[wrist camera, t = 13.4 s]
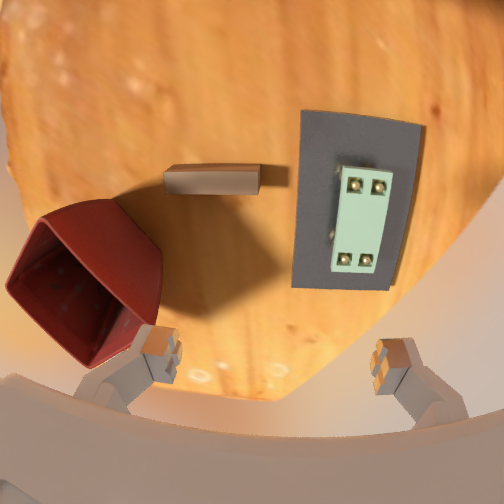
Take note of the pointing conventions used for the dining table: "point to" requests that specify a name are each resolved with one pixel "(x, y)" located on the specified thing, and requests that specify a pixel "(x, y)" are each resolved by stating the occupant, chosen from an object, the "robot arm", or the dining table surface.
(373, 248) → the board
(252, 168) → the stand
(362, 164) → the peg assembly base
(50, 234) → the plant pot
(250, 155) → the dining table surface
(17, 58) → the dining table surface
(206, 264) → the dining table surface
